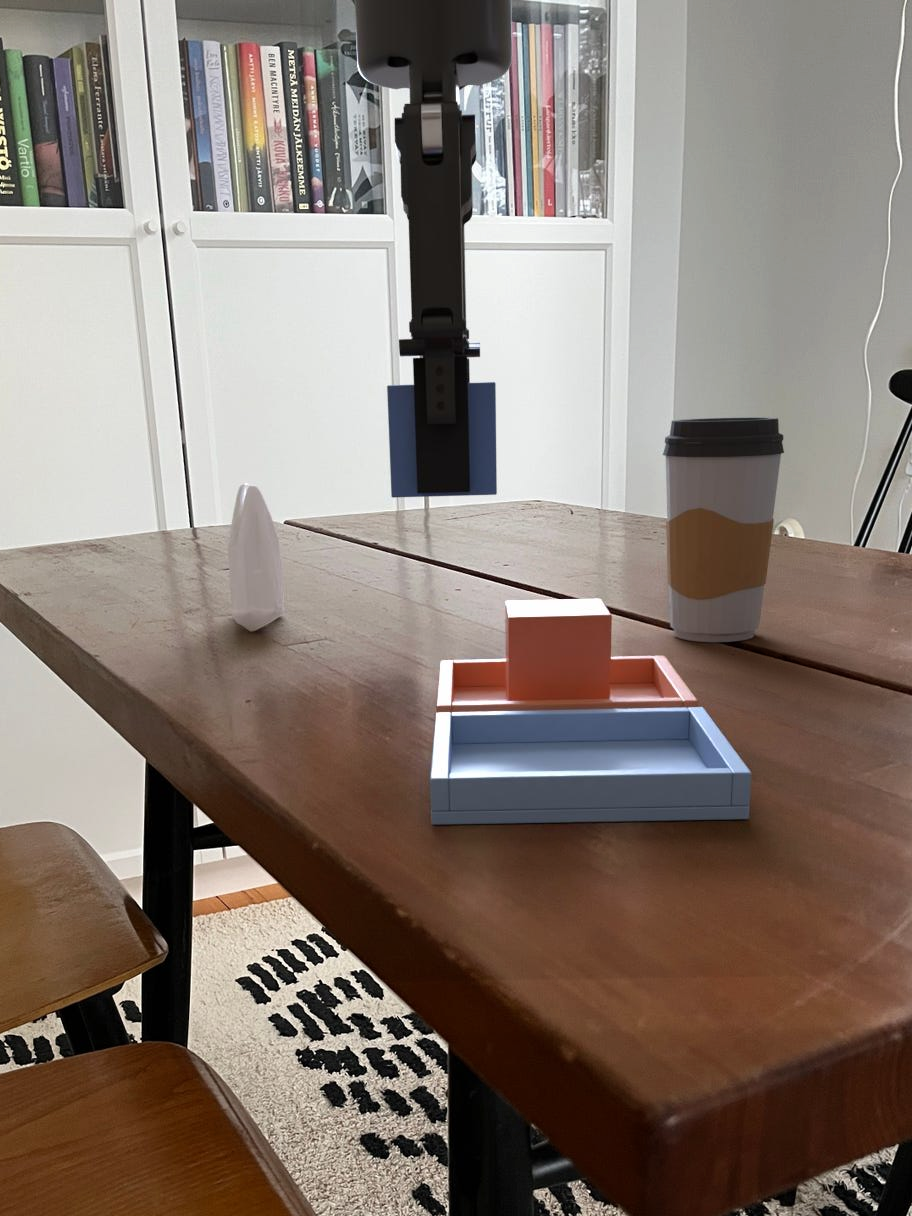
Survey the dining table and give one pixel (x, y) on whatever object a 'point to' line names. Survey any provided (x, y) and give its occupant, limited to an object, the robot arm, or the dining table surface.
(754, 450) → the coffee cup
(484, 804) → the blue tray
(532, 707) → the terracotta tray
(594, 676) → the terracotta block
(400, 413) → the blue block
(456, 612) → the dining table surface
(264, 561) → the white pointed piece
